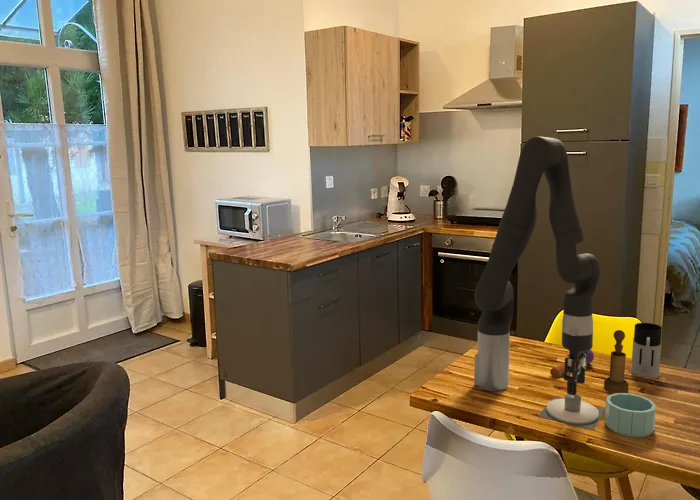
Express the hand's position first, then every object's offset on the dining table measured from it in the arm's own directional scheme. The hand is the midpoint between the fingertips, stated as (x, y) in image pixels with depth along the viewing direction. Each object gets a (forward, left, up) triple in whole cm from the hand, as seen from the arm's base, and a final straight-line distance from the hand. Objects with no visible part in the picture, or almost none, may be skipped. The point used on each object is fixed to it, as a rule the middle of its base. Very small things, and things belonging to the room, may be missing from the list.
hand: (576, 388), depth 153 cm
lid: (-1, -1, -7) cm, 7 cm away
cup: (+13, -1, -7) cm, 15 cm away
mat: (-1, -1, -7) cm, 7 cm away
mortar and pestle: (+5, +22, -8) cm, 24 cm away
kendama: (-10, +31, -8) cm, 34 cm away
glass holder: (+10, +38, -8) cm, 41 cm away
